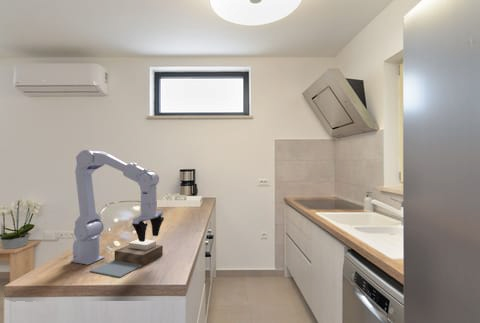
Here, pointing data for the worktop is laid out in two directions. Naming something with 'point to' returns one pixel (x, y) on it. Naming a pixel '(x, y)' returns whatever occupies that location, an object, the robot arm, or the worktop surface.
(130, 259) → the brown flat wooden block
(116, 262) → the mat
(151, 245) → the light grey flat block
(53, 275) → the worktop surface
